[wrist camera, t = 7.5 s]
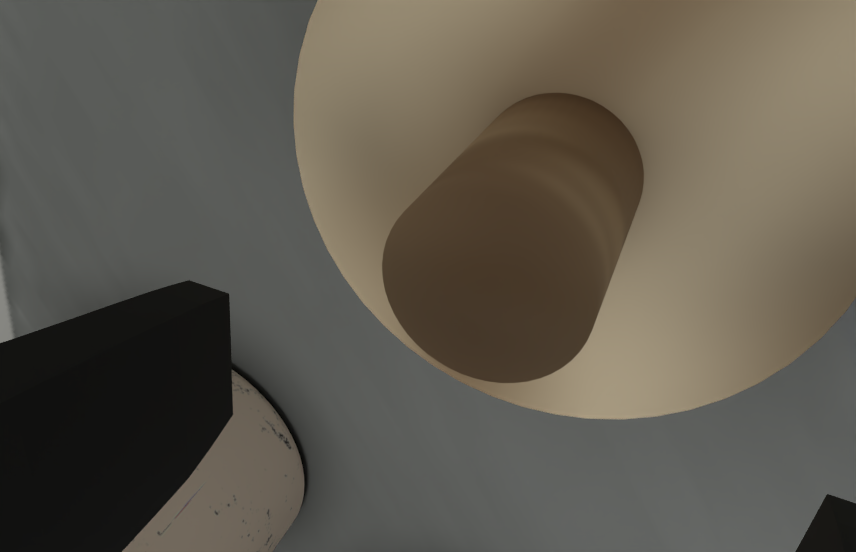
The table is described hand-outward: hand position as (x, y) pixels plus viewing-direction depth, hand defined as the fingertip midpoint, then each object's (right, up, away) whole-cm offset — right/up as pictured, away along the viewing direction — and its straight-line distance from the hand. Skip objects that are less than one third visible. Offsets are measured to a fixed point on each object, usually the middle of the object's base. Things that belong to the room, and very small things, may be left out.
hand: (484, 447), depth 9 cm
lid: (+2, +4, +4) cm, 6 cm away
